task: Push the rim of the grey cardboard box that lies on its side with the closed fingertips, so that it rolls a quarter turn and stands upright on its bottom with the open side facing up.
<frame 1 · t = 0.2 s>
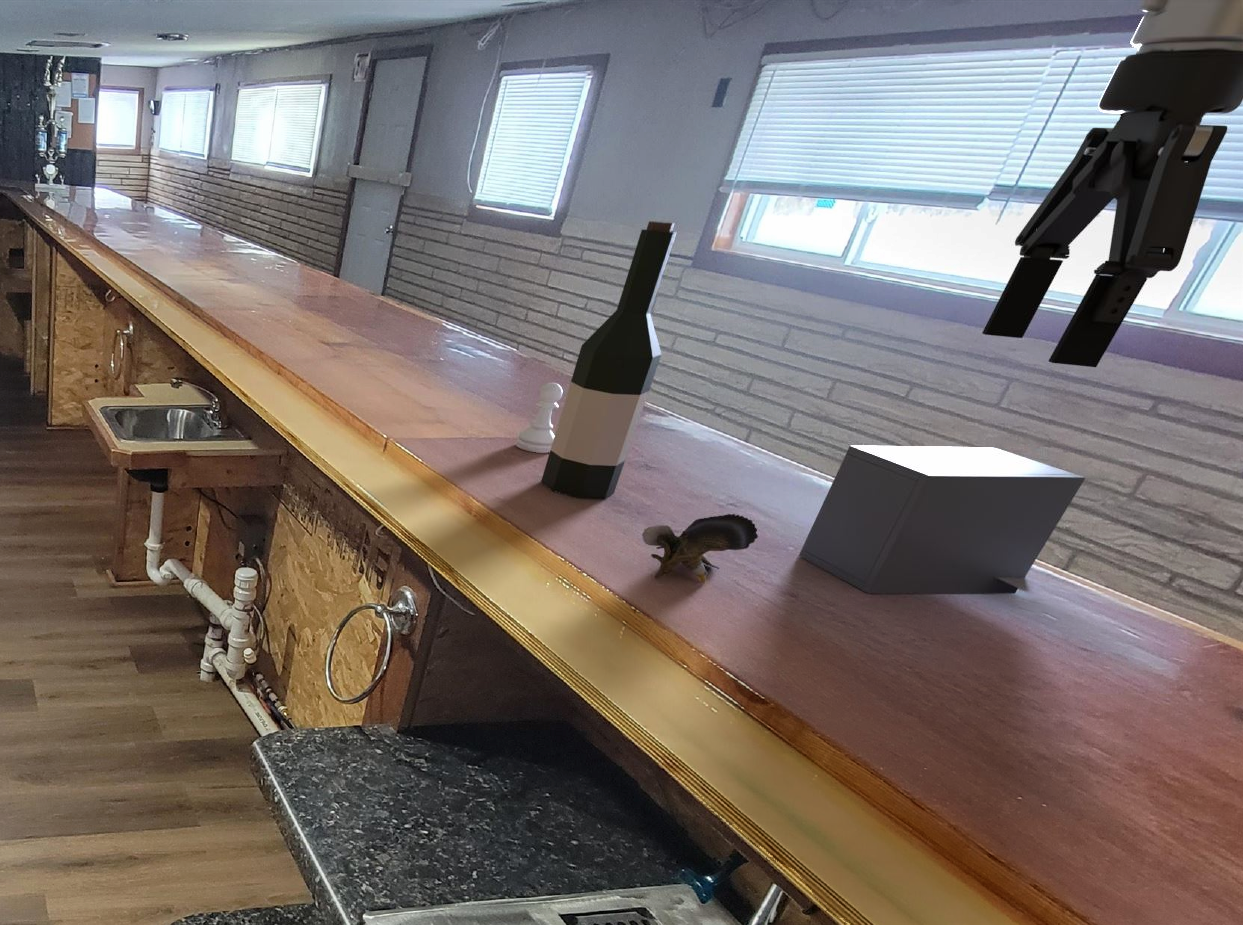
hand: (1034, 349, 77), 23 cm above the counter, tool pointing down, fingers open, 13 cm apart
chess pawn: (534, 449, 126), on the counter
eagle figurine: (684, 575, 90), on the counter
grey cardboard box: (903, 574, 93), on the counter
wine bottle: (576, 489, 112), on the counter
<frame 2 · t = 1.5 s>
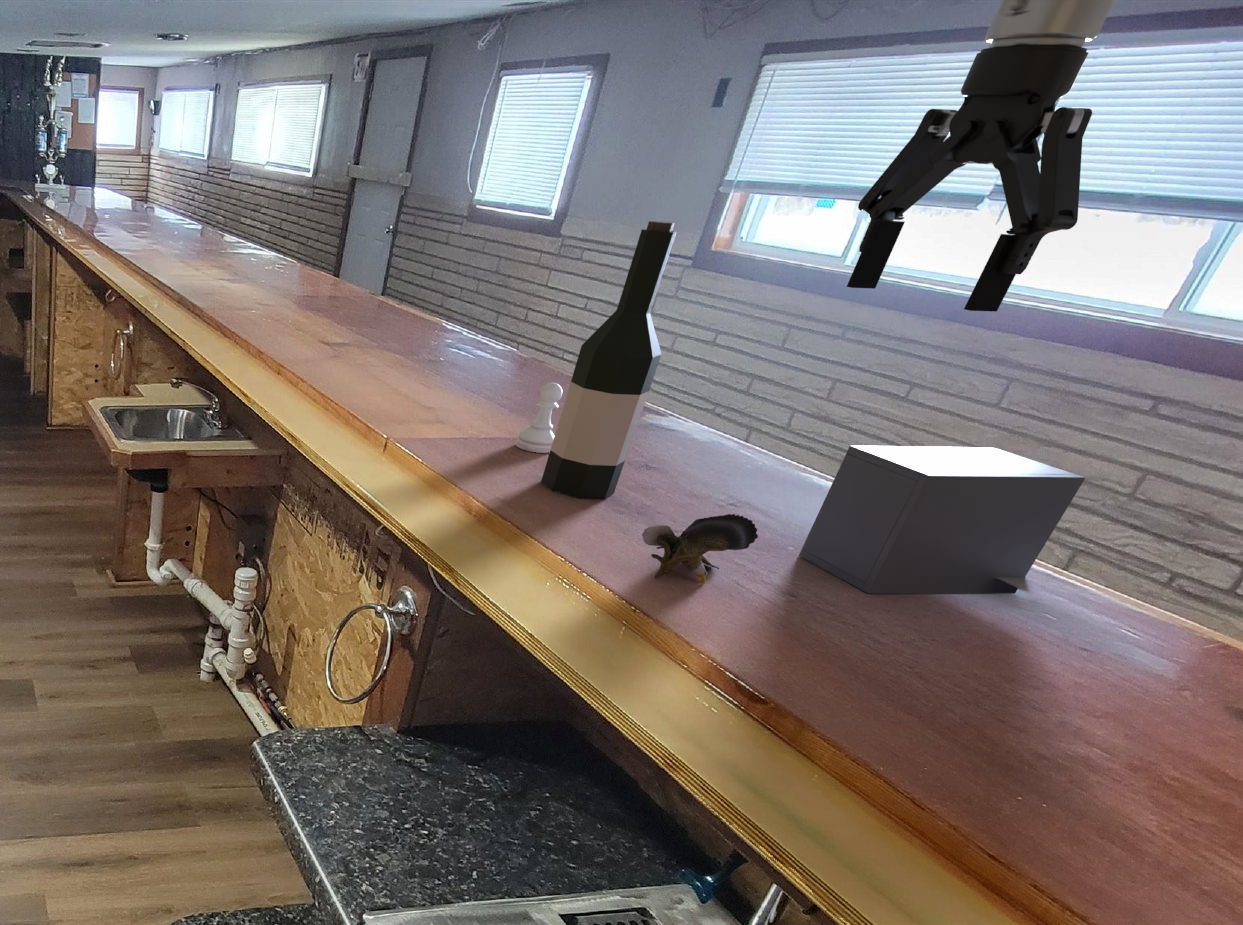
hand: (916, 298, 91), 25 cm above the counter, tool pointing down, fingers open, 13 cm apart
nothing on the counter moved.
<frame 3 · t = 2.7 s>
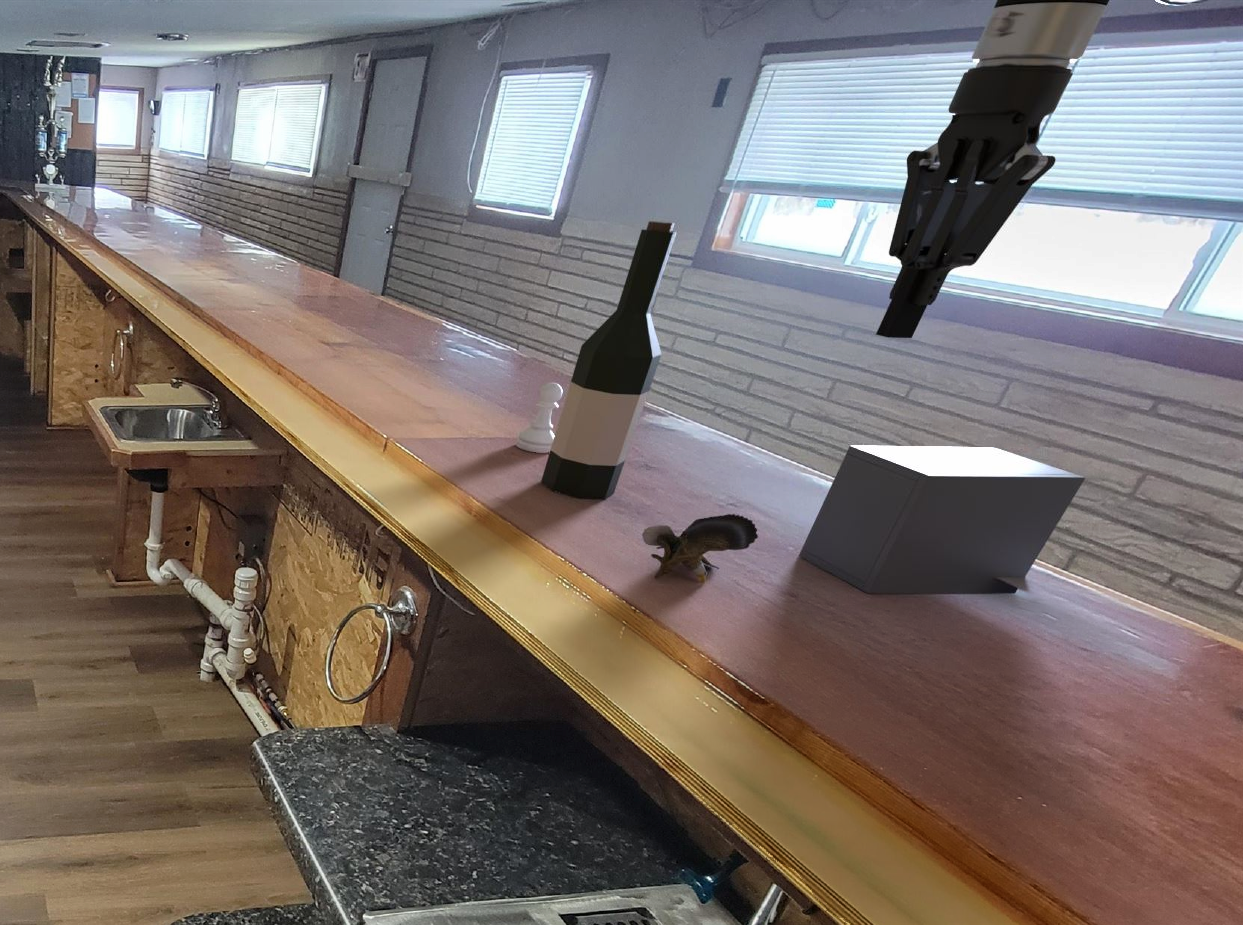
hand: (893, 336, 93), 21 cm above the counter, tool pointing down, fingers closed
nothing on the counter moved.
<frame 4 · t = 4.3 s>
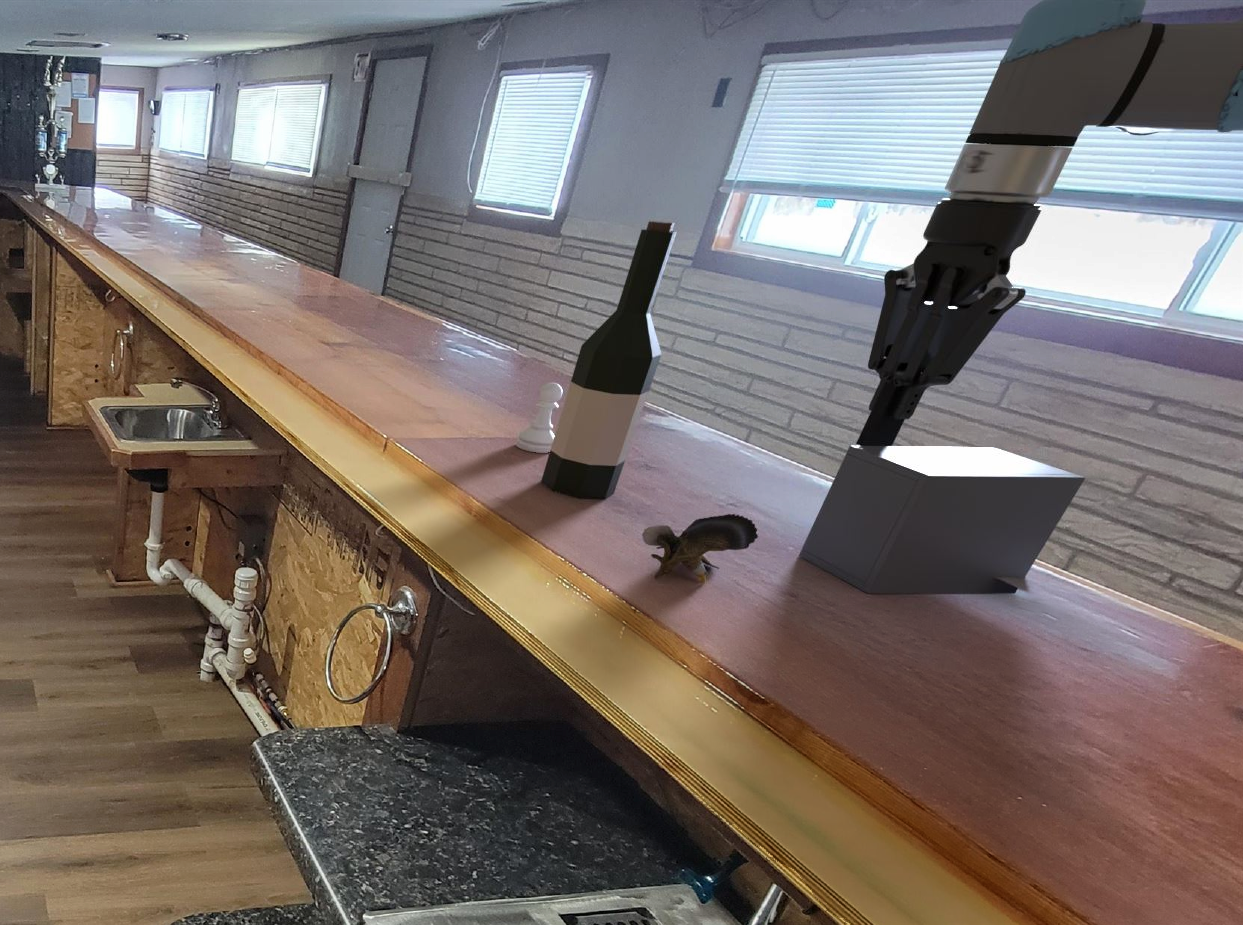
hand: (873, 445, 96), 10 cm above the counter, tool pointing down, fingers closed
nothing on the counter moved.
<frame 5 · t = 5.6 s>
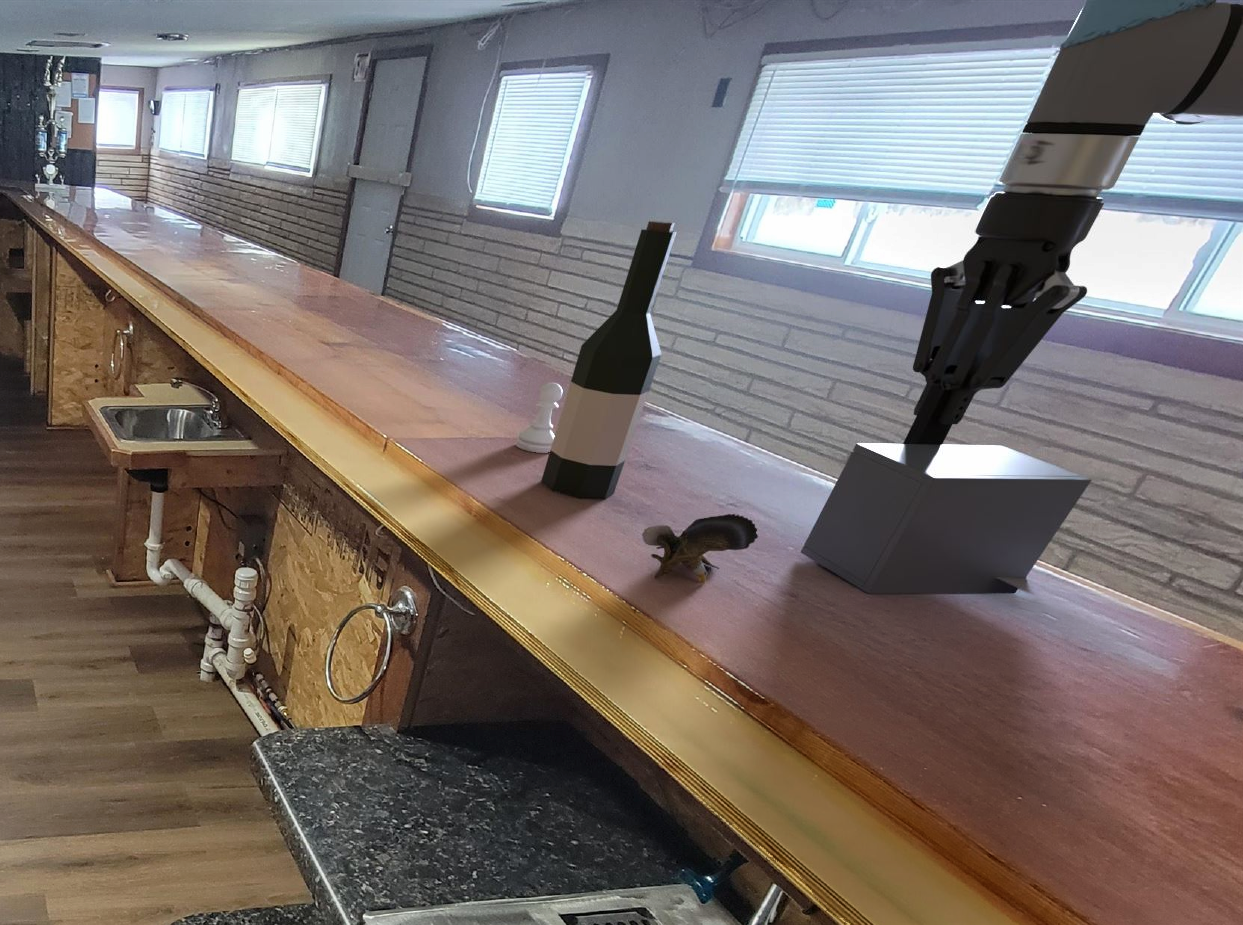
hand: (918, 452, 91), 11 cm above the counter, tool pointing down, fingers closed
grey cardboard box: (904, 572, 93), on the counter, touching gripper
everything else where it was.
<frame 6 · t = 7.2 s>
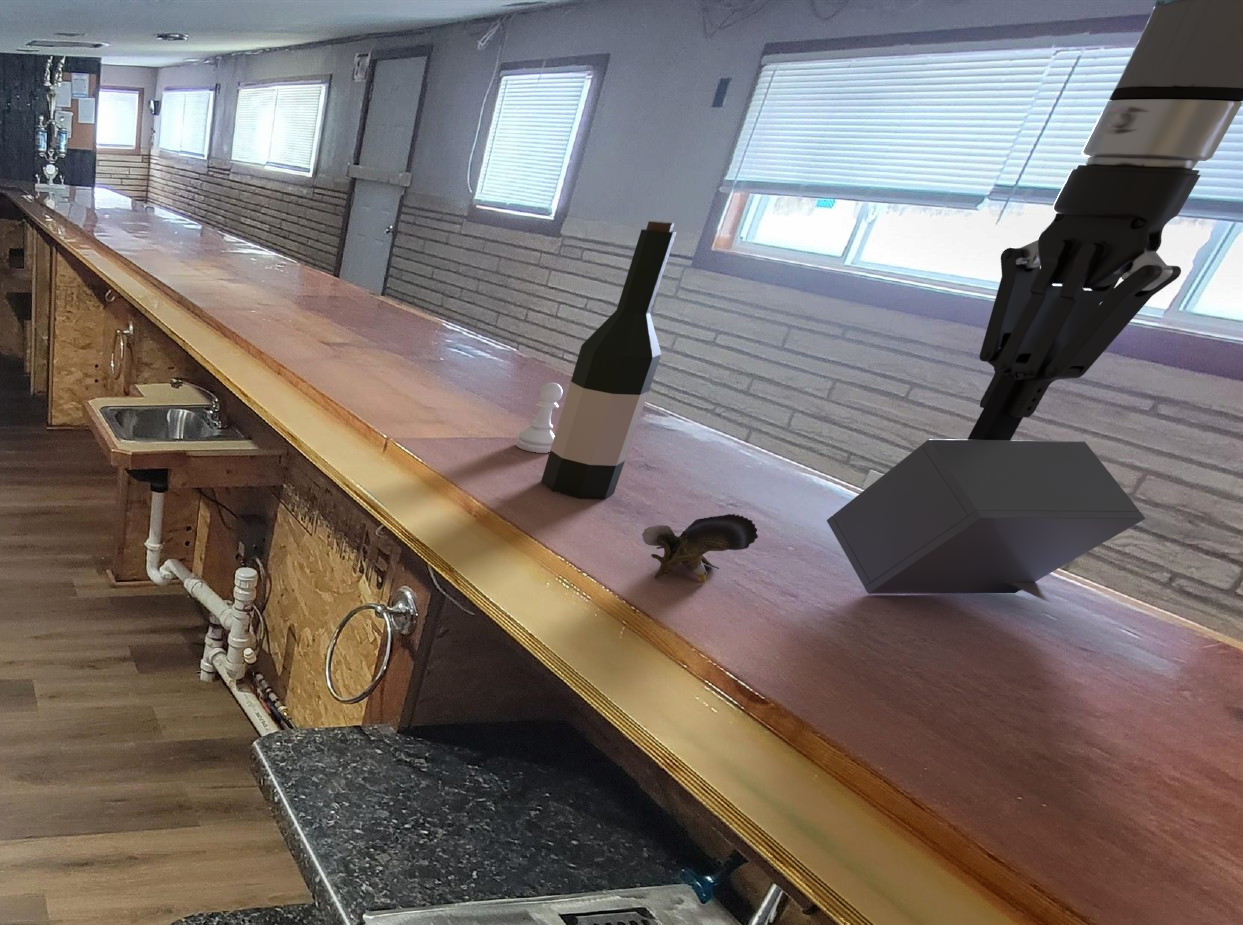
hand: (984, 447, 85), 14 cm above the counter, tool pointing down, fingers closed
grey cardboard box: (919, 556, 91), point 2 cm above the counter, tilted 30°, touching gripper
everything else where it was.
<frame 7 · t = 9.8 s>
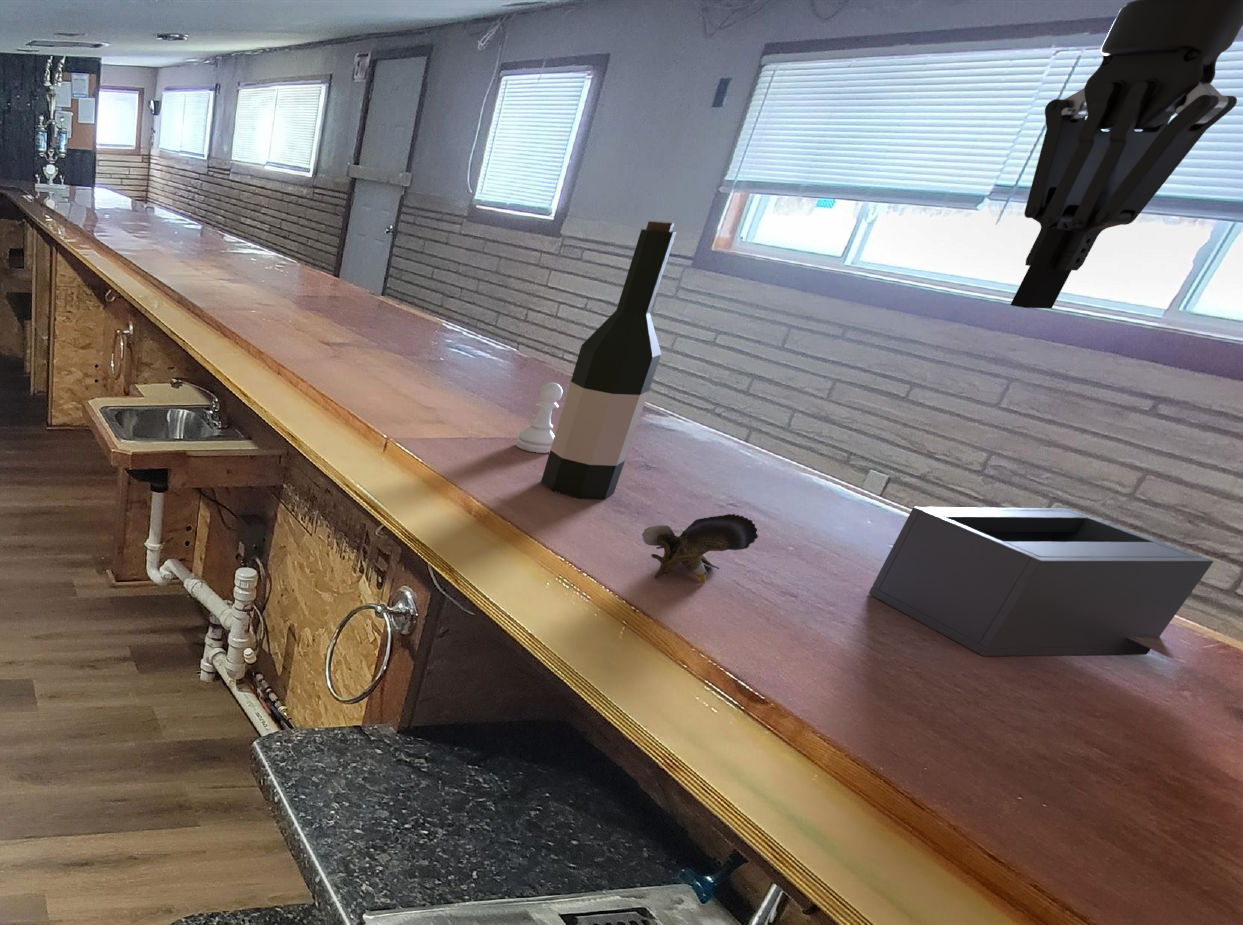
hand: (1030, 306, 84), 25 cm above the counter, tool pointing down, fingers closed
grey cardboard box: (965, 551, 87), point 5 cm above the counter, tilted 90°
everything else where it was.
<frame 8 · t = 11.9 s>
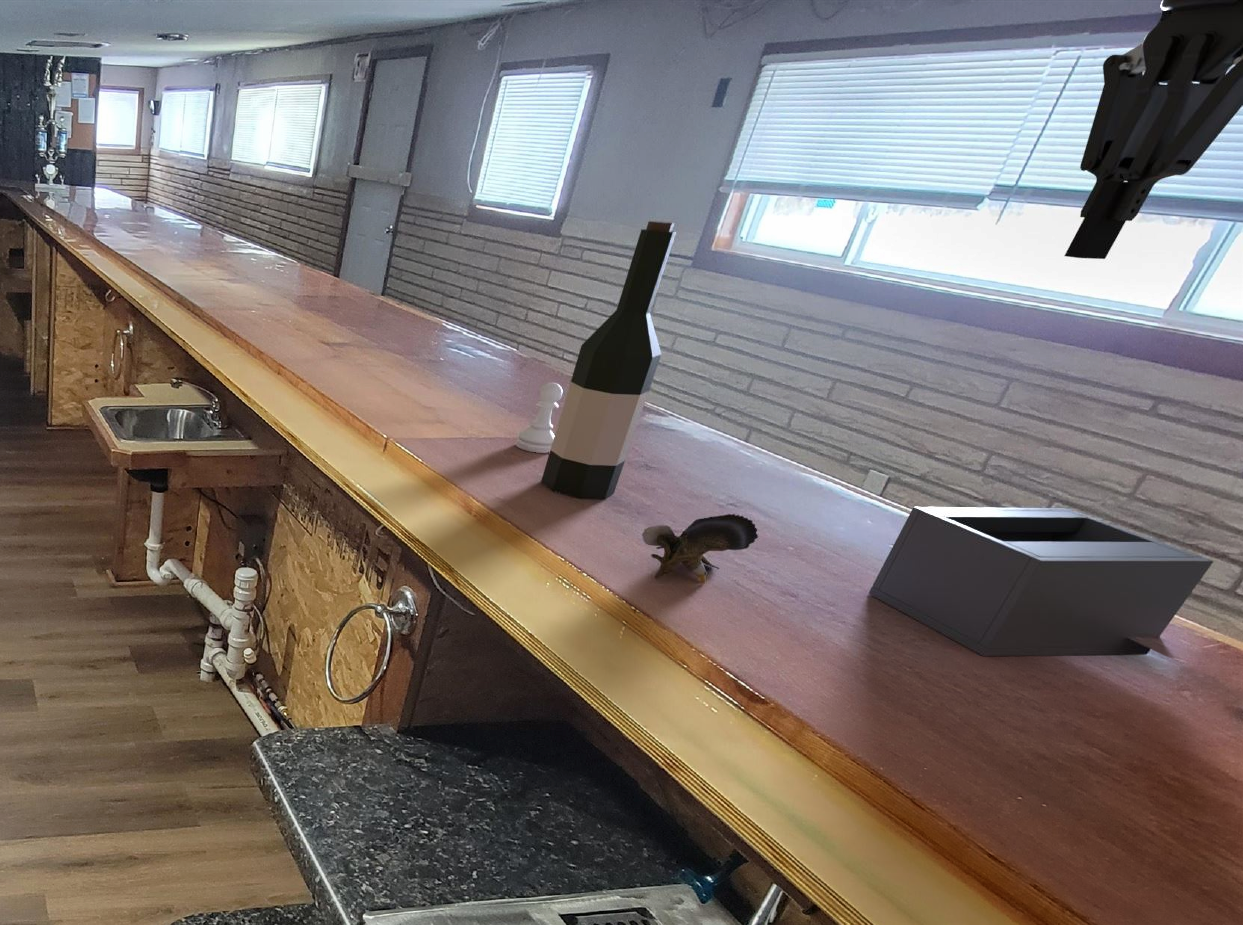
hand: (1084, 257, 87), 29 cm above the counter, tool pointing down, fingers closed
nothing on the counter moved.
at the end: grey cardboard box tilted 90°; grey cardboard box inside the target area (0.0 cm from its centre), point 4.5 cm above the counter; the gripper is holding nothing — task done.
